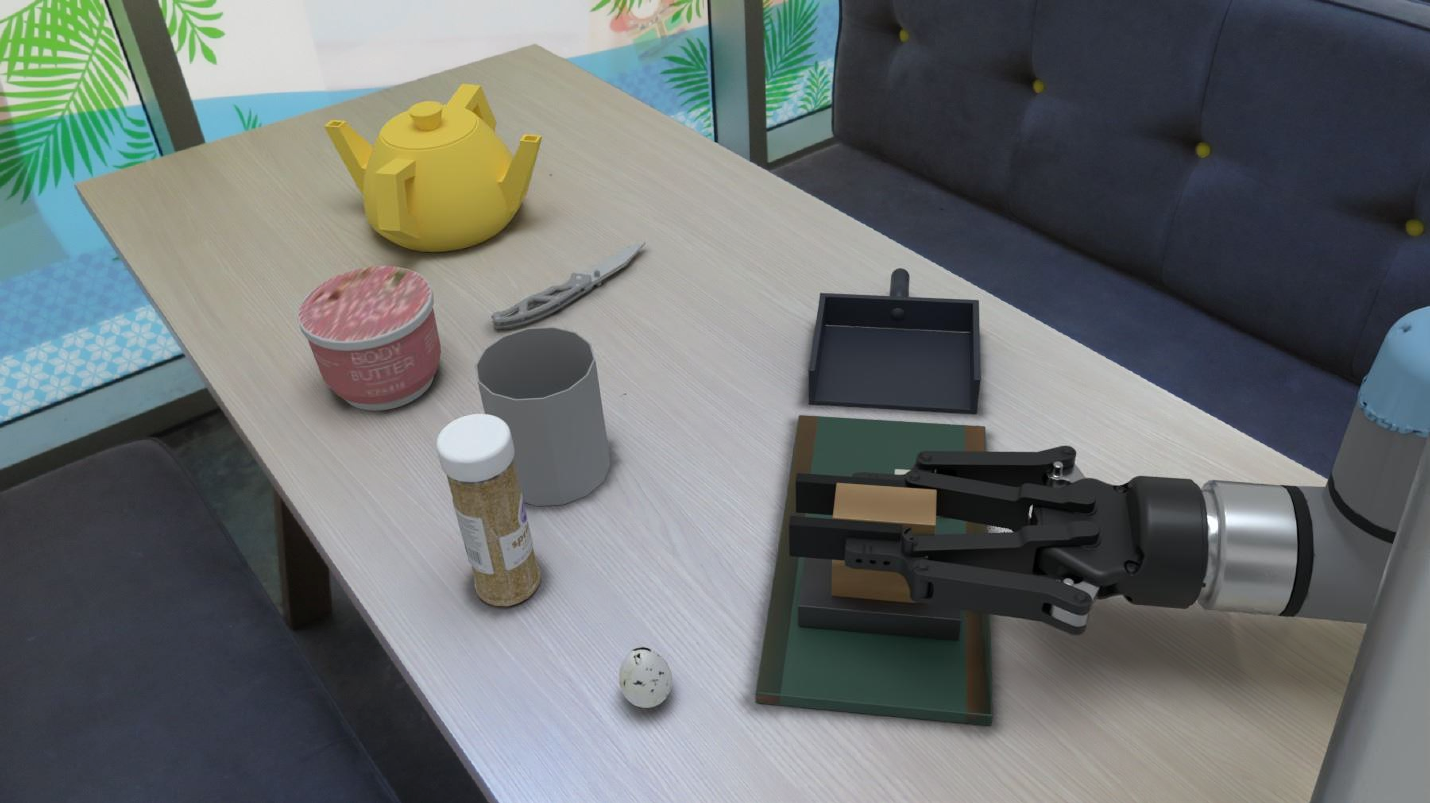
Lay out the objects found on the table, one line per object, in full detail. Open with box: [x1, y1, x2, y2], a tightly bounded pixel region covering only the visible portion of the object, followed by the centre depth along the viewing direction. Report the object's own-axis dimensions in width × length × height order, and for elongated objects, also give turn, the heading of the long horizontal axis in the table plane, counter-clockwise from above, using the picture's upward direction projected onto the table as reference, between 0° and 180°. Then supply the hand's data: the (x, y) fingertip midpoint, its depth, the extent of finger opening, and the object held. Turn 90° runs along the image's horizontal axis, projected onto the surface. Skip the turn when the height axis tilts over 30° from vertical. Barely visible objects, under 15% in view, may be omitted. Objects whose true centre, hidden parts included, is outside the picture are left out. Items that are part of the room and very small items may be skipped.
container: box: [297, 265, 442, 412], centre depth 97 cm, size 10×10×8 cm
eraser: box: [798, 483, 961, 641], centre depth 74 cm, size 5×10×9 cm, turn 81°
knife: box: [490, 242, 646, 330], centre depth 107 cm, size 2×18×3 cm
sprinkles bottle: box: [435, 413, 542, 607], centre depth 77 cm, size 5×5×13 cm
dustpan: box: [807, 267, 982, 415], centre depth 98 cm, size 16×13×3 cm
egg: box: [618, 646, 673, 709], centre depth 72 cm, size 3×3×5 cm
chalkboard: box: [755, 414, 994, 726], centre depth 81 cm, size 26×14×1 cm, turn 171°
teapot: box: [323, 83, 543, 253], centre depth 115 cm, size 17×17×12 cm
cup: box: [474, 326, 612, 507], centre depth 87 cm, size 8×8×10 cm
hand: (794, 514), depth 73 cm, fingers closed on eraser, 3 cm apart
